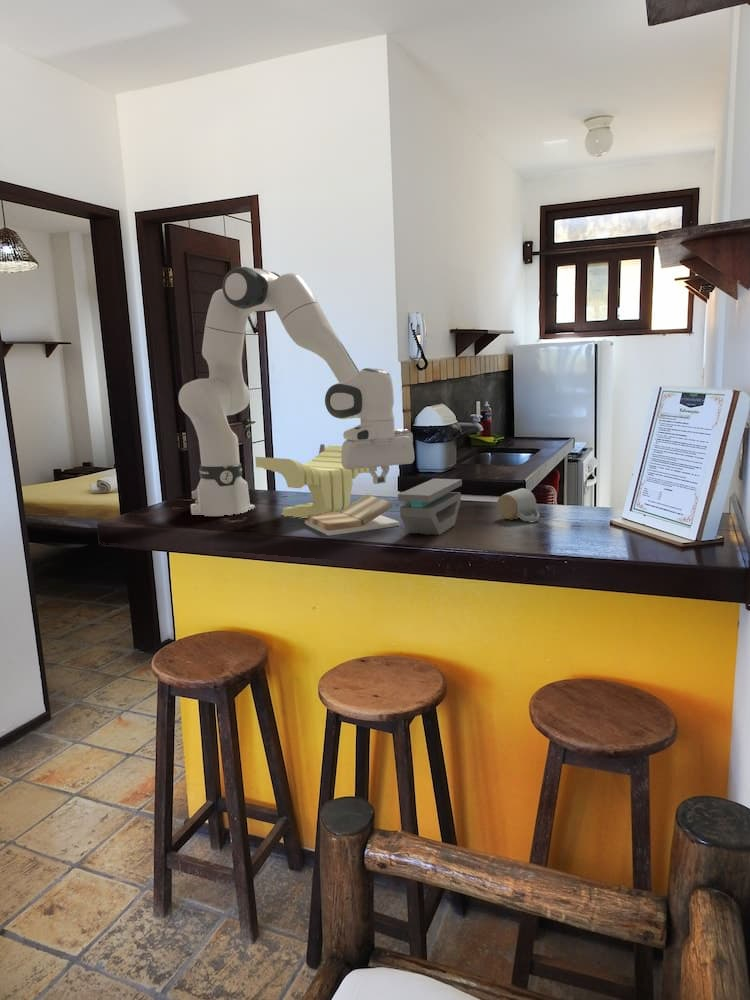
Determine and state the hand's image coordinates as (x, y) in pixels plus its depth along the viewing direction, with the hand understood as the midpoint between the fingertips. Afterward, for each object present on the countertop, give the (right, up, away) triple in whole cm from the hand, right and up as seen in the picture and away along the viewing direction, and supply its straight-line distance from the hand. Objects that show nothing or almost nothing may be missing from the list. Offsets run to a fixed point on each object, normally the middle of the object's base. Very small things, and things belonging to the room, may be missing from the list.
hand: (379, 483), depth 188 cm
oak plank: (-12, -12, -4) cm, 17 cm away
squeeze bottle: (-17, -5, +32) cm, 37 cm away
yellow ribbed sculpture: (-18, -9, +14) cm, 24 cm away
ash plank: (-3, -7, 0) cm, 8 cm away
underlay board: (-7, -11, -2) cm, 13 cm away
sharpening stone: (+13, -12, -9) cm, 20 cm away
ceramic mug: (+37, -10, -1) cm, 38 cm away
